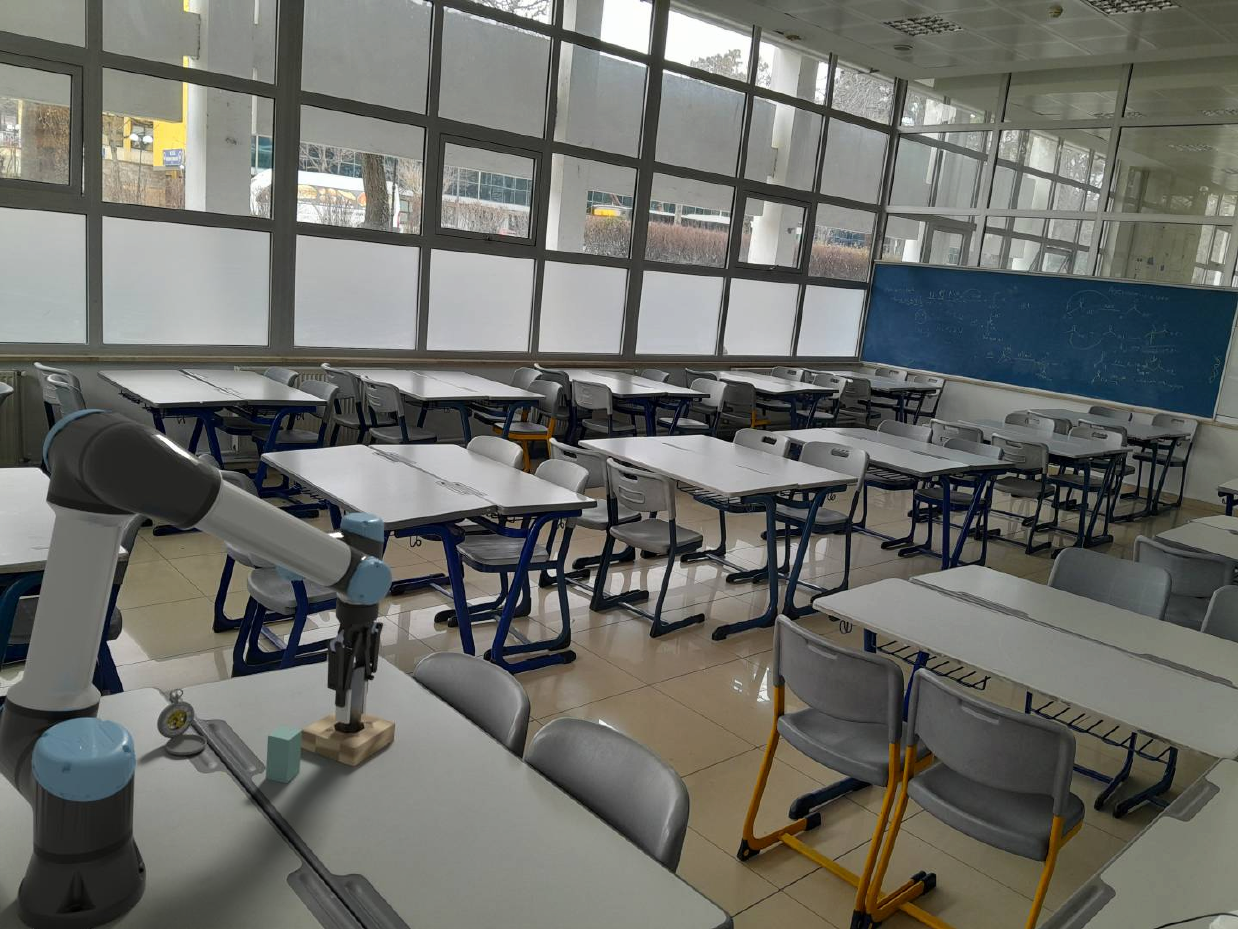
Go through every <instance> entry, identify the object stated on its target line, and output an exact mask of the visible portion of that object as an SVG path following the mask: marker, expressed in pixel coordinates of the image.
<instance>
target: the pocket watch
mask: <svg viewBox="0 0 1238 929" xmlns="http://www.w3.org/2000/svg"><path fill="white" fill-rule="evenodd" d="M175 691H180V692H181V694H178V693H176V694H175V696H174V697H173V696H172V694H173V693H174V692H175ZM183 695H184V690H183V689H181V688H175V689H173V690H172V691H171V692H169V698H170V699H172V700H174V702H172V703H170V704H169V705H167V706H166V707H164V709H163V710H162V711H161V712H160V714H159V715H158V719H157V721H156V727H157V730H158V732H159V734H160V735H161V736H162V737H164V738H168V739H169V740H168V741H166V744H165V750H166V752H168V753H170V754H172V755H175V756H189V755H193V754H194V755H195V754H197V753H199V752H201V751H202V750H204V749H205V747H207V743H208V742H207V738H205V737H204V736H201V735H199V734H193V733H191V734H184V733H185V732H187V731H188V730H189V728H191V726H192V723H193V721H194V718H195V710H194V707H193V706H192V705H191V703H189V702H187V701H182V700H181V701H180V699H181V698H182V696H183ZM172 726H173V727H172Z"/></svg>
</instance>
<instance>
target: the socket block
mask: <svg viewBox="0 0 1238 929" xmlns="http://www.w3.org/2000/svg"><path fill="white" fill-rule="evenodd" d="M335 712H336V710H335V711H333V712H332V713H330V714H328V715H326V716H324V717H322V718H321V719H319V720H317V721H315V722H313V723H311V724H310V725H308V726H306V727H304V728H303V729H301V730H302V738H301V749H304V750H307V751H309V752H312V753H315V754H318V755H321V756H324V757H326V758H328V759H329V758H330V759H331V760H334V761H337V762H340V763H342V764H346V765H348V766H351V767H356V766H357V765H358V764H360V763H361V762H363V761H364V760H366V759H367V758H369V757H370V756H372V755H373V754H375V753H376V752H378V751H380V750H381V749H382V748H384V747H386V746H387V745H389V744H390V743H392V742H394V740H395V730H396V722H393V721H390V720H387V719H384V718H381V717H377V716H374V715H372V714H369V713H366V712H365V714H362V715H361V730H360V731H359V732H358V733H348V734H344V733H341V732H338V728H339V721H336V720H335ZM388 743H389V744H388Z"/></svg>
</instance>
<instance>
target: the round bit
mask: <svg viewBox="0 0 1238 929" xmlns="http://www.w3.org/2000/svg"><path fill="white" fill-rule="evenodd" d="M364 671H365V666H364V665H363V664H361V663H356V661H354V663H353V668H352V673H351V678H350V683H349V688H348V689H351V690H352V692H351V707H350V722H349V723H348V724H345V723H342V722H339V728H338V732H341V733H344V734H348V733H358V732H359V731H360V730H361V715H362V700H363V686H364Z"/></svg>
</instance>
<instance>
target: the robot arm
mask: <svg viewBox="0 0 1238 929" xmlns="http://www.w3.org/2000/svg"><path fill="white" fill-rule="evenodd" d="M42 446H43V448H42V450H43V451H42V456H43V461H44V464H45V466H46V469H47V470H48V472H49V473H50V477H49V482H48V486H47V493H46V498H45V502H46V503H47V505H48V506H49V507H50V508H51V510H52V511H53V512H54V514H55V519H54V523H53V529H52V533H51V538H50V543H49V548H48V554H47V557H46V561H45V568H44V572H43V578H42V580H41V587H40V590H39V596H38V601H37V602H38V603H37V606H36V612H35V615H34V616H35V617H34V621H33V626H32V631H31V636H30V641H29V646H28V650H27V655H26V659H25V663H24V664H25V665H24V670H23V676H22V679H20V680H19V681H17V682H16V683H14V684H13V685H11V686H10V687H9V688H8V689H7V691H6V694H5V700H4V703H3V704H2V705H0V774H1V775H2V777H4V778H5V779H6V780H7V782H8V783H10V784H11V786H12V787H13V788H14V789H15V790H16V791H17V792H18V793H19V794H20V795H21V796H22V797H23V799H24V800H26V802H27V803H28V804H29V806H31V809H32V815H33V816H32V824H33V825H32V830H33V831H32V832H33V834H32V839H33V841H32V847H33V848H32V849H33V850H32V854H31V856H30V859H29V862H28V865H27V868H26V872H25V874H24V877H23V879H22V880H21V882H20V884H19V886H18V890H17V896H16V897H17V899H16V900H17V902H16V903H17V906H16V909H17V915H18V917H19V919H20V920H21V922H23V923H24V924H25V925H27V926H28V927H31V928H33V929H90V928H94V927H97V926H100V925H103V924H106V923H108V922H111V921H113V920H114V919H116V918H118V917H121V916H122V915H123V914H125V913H126V912H128V911H129V910H130V909H131V908H133V907H135V905H136V904H137V903H138V901H139V900H140V899H141V898H142V897H143V895H144V892H145V891H146V884H147V883H146V881H147V871H146V870H147V869H146V864H145V862H144V859H143V857H142V854H141V852H140V850H139V847H138V844H137V842H136V840H135V836H134V804H135V801H134V800H135V799H134V798H135V777H136V776H135V774H136V765H137V754H136V751H135V742H134V739H133V736H132V735H131V733H130V732H129V729H127V728H126V727H125V726H123V725H122V724H120V723H118V722H115V721H113V720H111V719H106V720H102V719H101V718H99V717H98V712H99V708H100V702H101V697H102V695H101V692H100V691H99V689H98V688H97V687H96V686H95V685H94V684H93V678H94V675H95V674H94V672H95V669H96V664H97V660H98V655H99V650H100V644H101V641H102V636H103V631H104V627H105V626H104V625H105V621H106V616H107V612H108V607H109V603H110V598H111V593H112V587H113V583H114V582H113V581H114V577H115V573H116V568H117V564H118V560H119V554H120V549H121V545H122V540H123V535H124V530H125V526H126V524H127V523H128V522H130V521H131V520H132V519H134V518H136V517H137V516H138V515H140V516H144V517H147V518H151V519H154V520H157V521H160V522H162V523H165V524H168V525H170V526H173V527H174V528H177V529H179V530H183V531H187V530H191V529H193V528H196V529H197V530H200V531H202V532H204V533H206V534H209V535H211V536H213V537H215V538H218V539H220V540H222V541H224V542H226V543H228V544H230V545H233V546H235V547H238V548H239V549H241V550H244V551H246V552H248V553H250V554H253V555H255V556H257V557H259V558H262V559H264V560H266V561H268V562H270V563H272V564H274V565H275V568H276V570H277V572H278V574H279V576H280V577H281V578H282V579H283V580H285V581H287V582H289V581H290V582H292V581H299V582H300V581H303V580H306V579H308V580H309V581H312V582H314V583H316V584H319V585H321V586H323V587H324V588H326V589H329V590H331V591H333V592H335V593H336V596H337V599H336V601H335V602H336V605H335V618H336V620H337V621H338V622H339V628H338V629H337V635H336V636H335V637H334V638H333V639H332V638H328V639H327V640H326V647H327V650H328V654H327V655H328V656H327V685H326V686H327V689H329V690H332V691H335V698H334V705H335V711H336V712H335V711H334V712H335V720H336V721H339V722H342V723H345V724H348V723H349V722H350V707H351V692H352V690H351V689H348V688H349V683H350V678H351V673H352V668H353V663H354V662H356V663H361V664H363V665H364V666H365V671H364V686H363V700H362V714H365V713H366V712H367V697H368V696H367V695H368V692H369V691H368V690H369V681H373V680H374V679H375V675H373V674H375V673H377V671H378V666H379V665H378V664H379V663H378V662H379V654H380V643H381V642H380V641H381V635H382V634H381V633H382V631H383V628H384V623H383V622H381V621H377V619H378V617H379V609H380V602H381V601H382V600H383V599H384V598H385V597H386V596H387V595H388V592H389V591H390V588H391V586H392V582H393V573H392V571H391V568H390V567H389V565H388V564H387V563H386V562H384V561H383V550H384V542H385V539H384V538H385V536H384V535H385V532H384V531H385V528H384V527H385V526H384V525H385V524H384V523H385V522H384V520H383V519H382V518H381V517H380V516H378V515H375V514H373V513H366V512H351V513H348V514H346V515H343V516H342V518H341V521H340V525H339V526H340V527H339V528H336V529H333V530H325V531H322V530H321V529H319V528H318V527H315V526H314V525H312V524H309V523H308V522H305V521H304V520H302V519H300V518H298V517H295V516H294V515H292V514H290V513H288V512H286V511H285V510H283V509H280V508H278V507H277V506H275V505H273V504H271V503H269V502H267V501H265V500H263V499H261V498H259V497H257V496H256V495H253V494H251V493H250V492H248V491H246V490H244V489H243V488H240V487H238V486H237V485H234V484H232V483H230V482H228V481H227V480H225V479H223V475H222V474H223V473H222V472H221V471H220V469H219V468H217V467H216V466H214V465H212V464H210V463H208V462H206V461H205V460H204V459H202V458H200V457H198V456H197V455H195V454H194V453H192V452H191V451H189V450H188V449H186V448H184V447H183V446H182V445H180V444H179V443H178V442H176V441H175V440H173V439H172V438H171V437H169V436H168V435H166V434H165V433H163V432H161V431H159V430H158V429H156V428H153V427H151V426H149V425H148V424H144V423H140V422H138V421H136V420H134V419H131V418H129V417H127V416H125V415H124V414H123V413H118V412H114V411H111V410H103V409H98V408H97V409H96V408H95V409H94V408H88V409H81V410H77V411H73V412H72V413H69V414H68V415H66V416H64V417H63V418H61V419H60V420H58V421H57V422H56V423H55V424H54V425H53V426H52V427H51V429H50V430H49V432H48V433H47V435H46V437H45V439H44V442H43V445H42Z"/></svg>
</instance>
